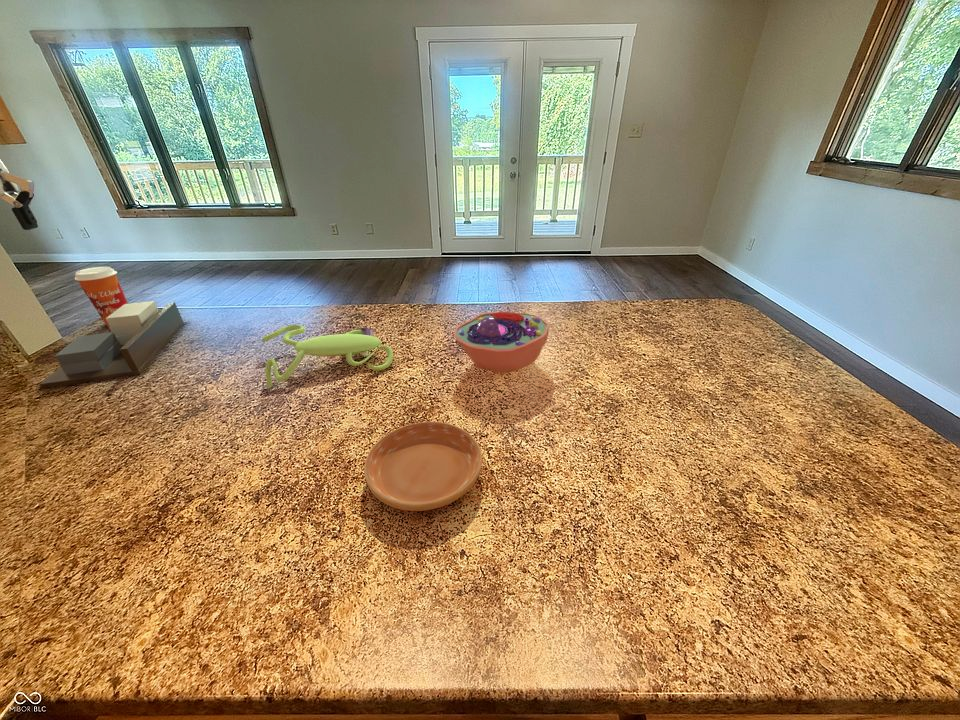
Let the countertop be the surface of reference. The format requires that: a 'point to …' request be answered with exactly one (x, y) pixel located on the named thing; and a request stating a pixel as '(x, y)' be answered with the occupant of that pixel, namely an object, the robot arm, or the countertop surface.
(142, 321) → the cream flat block
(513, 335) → the cell model
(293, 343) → the figurine
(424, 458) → the saucer
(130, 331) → the white stack
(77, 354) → the grey stack
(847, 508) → the countertop surface
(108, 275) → the paper cup
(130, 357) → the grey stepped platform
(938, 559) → the countertop surface
